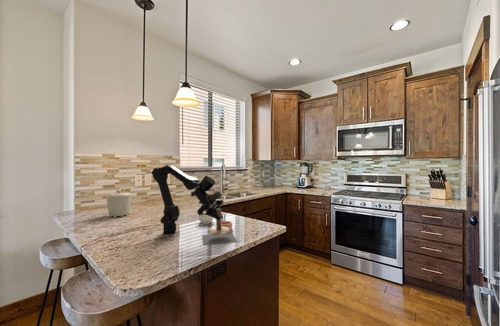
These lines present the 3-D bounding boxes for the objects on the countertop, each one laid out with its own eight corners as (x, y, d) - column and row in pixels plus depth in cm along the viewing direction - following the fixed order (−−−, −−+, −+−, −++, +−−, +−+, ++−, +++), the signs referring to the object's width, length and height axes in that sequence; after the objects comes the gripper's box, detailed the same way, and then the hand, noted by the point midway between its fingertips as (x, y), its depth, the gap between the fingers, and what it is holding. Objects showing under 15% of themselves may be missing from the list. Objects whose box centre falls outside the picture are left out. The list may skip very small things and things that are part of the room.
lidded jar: (210, 225, 144) (210, 210, 144) (195, 224, 146) (195, 210, 146) (216, 221, 155) (216, 207, 155) (202, 220, 157) (201, 207, 157)
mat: (203, 246, 107) (203, 245, 107) (202, 235, 122) (202, 235, 122) (237, 242, 111) (237, 242, 111) (232, 233, 126) (232, 232, 126)
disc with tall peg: (208, 235, 110) (208, 211, 110) (207, 229, 121) (207, 207, 121) (231, 233, 112) (231, 210, 113) (228, 227, 124) (227, 206, 124)
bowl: (218, 232, 127) (218, 225, 127) (217, 228, 135) (216, 221, 136) (232, 231, 129) (232, 224, 129) (230, 227, 138) (230, 220, 138)
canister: (133, 216, 172) (133, 189, 172) (105, 219, 162) (105, 191, 162) (130, 212, 187) (130, 187, 187) (105, 215, 177) (105, 189, 177)
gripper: (202, 188, 110) (221, 212, 105) (220, 185, 127) (238, 205, 123) (189, 203, 113) (207, 227, 108) (209, 198, 130) (225, 218, 126)
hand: (221, 218), depth 116 cm, fingers closed on disc with tall peg, 3 cm apart
